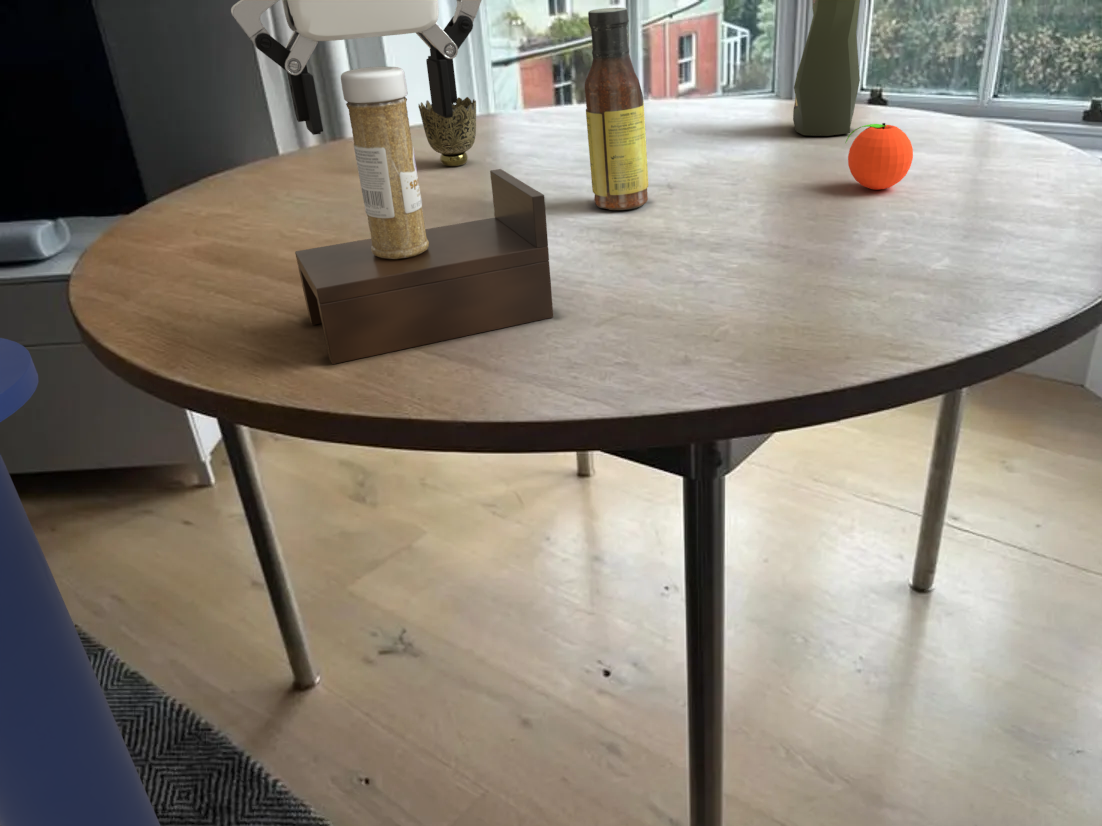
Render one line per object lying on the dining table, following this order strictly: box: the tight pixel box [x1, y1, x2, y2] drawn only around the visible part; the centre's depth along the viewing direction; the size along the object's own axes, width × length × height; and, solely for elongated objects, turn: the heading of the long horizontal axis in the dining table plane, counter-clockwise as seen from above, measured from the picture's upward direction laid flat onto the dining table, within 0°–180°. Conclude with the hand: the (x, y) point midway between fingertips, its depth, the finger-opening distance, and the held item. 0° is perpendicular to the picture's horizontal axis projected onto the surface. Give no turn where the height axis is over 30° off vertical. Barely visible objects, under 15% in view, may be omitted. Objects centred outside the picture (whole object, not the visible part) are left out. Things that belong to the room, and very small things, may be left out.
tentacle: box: [792, 0, 861, 137], centre depth 123 cm, size 9×12×30 cm
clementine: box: [845, 122, 914, 191], centre depth 103 cm, size 8×7×7 cm
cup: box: [418, 96, 477, 167], centre depth 122 cm, size 8×7×8 cm
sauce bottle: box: [584, 7, 649, 211], centre depth 99 cm, size 7×6×20 cm
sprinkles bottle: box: [340, 66, 429, 259], centre depth 70 cm, size 5×5×13 cm
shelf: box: [294, 168, 554, 365], centre depth 74 cm, size 18×10×10 cm, turn 115°
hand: (380, 122), depth 68 cm, fingers open, 9 cm apart
